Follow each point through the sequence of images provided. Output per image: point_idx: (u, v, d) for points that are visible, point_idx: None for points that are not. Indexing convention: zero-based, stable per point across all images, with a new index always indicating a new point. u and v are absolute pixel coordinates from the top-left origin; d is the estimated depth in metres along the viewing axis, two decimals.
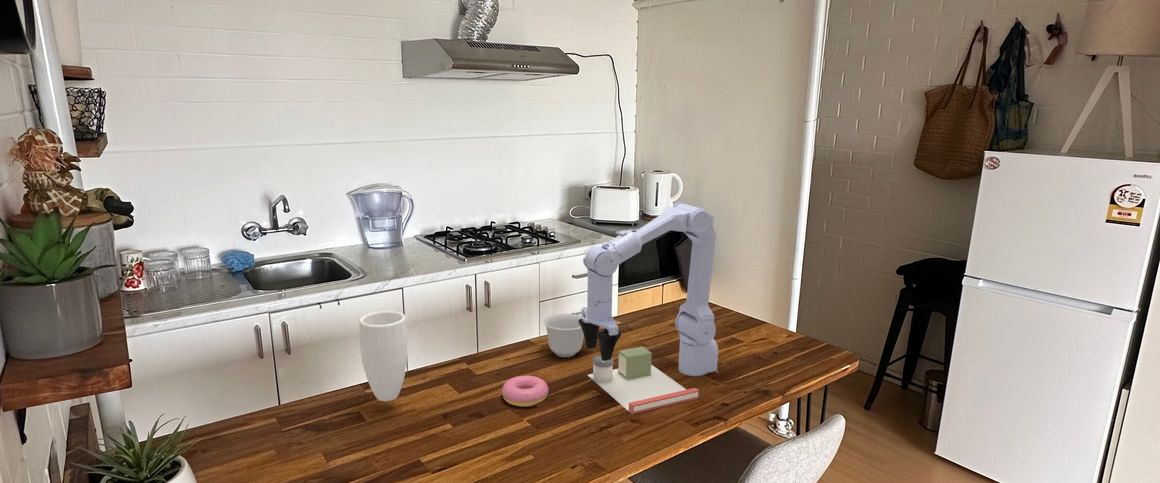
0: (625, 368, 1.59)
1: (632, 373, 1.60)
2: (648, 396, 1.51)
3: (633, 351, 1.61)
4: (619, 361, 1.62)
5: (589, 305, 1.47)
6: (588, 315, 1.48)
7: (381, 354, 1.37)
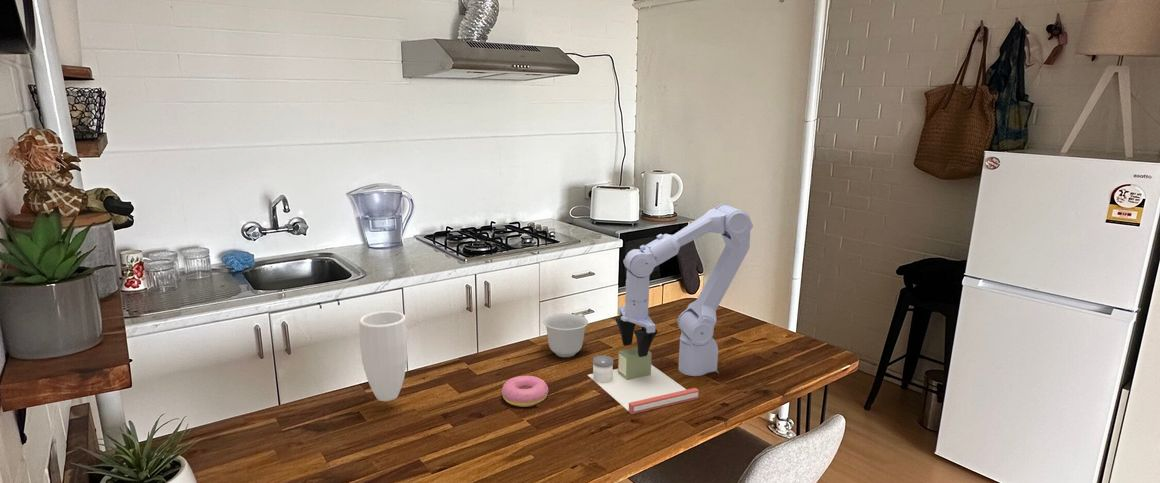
0: (625, 368, 1.59)
1: (632, 373, 1.60)
2: (648, 396, 1.51)
3: (633, 351, 1.61)
4: (619, 361, 1.62)
5: (627, 304, 1.57)
6: (626, 314, 1.58)
7: (381, 354, 1.37)
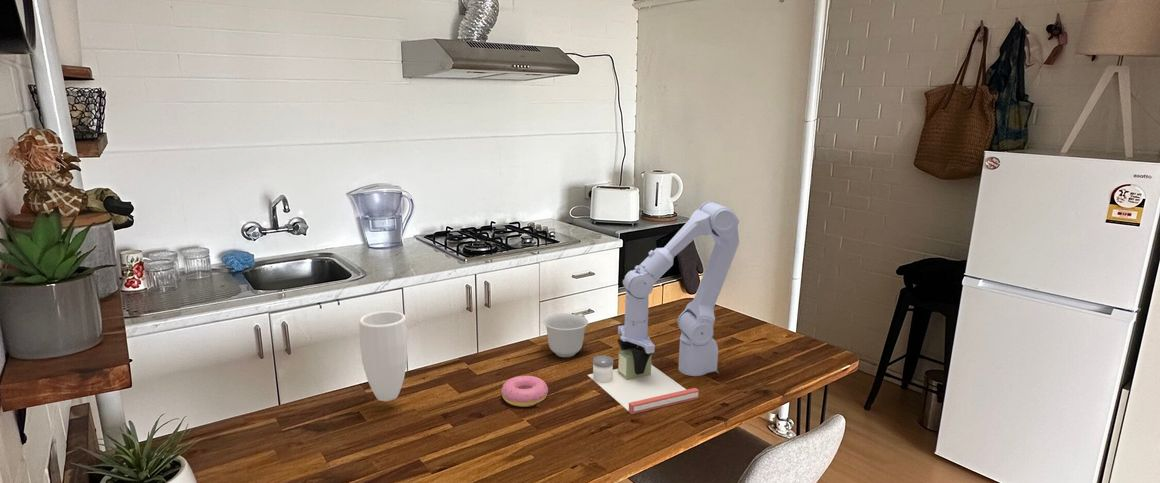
0: (625, 368, 1.59)
1: (632, 373, 1.60)
2: (648, 396, 1.51)
3: None
4: (619, 361, 1.62)
5: (627, 325, 1.58)
6: (625, 334, 1.59)
7: (381, 354, 1.37)
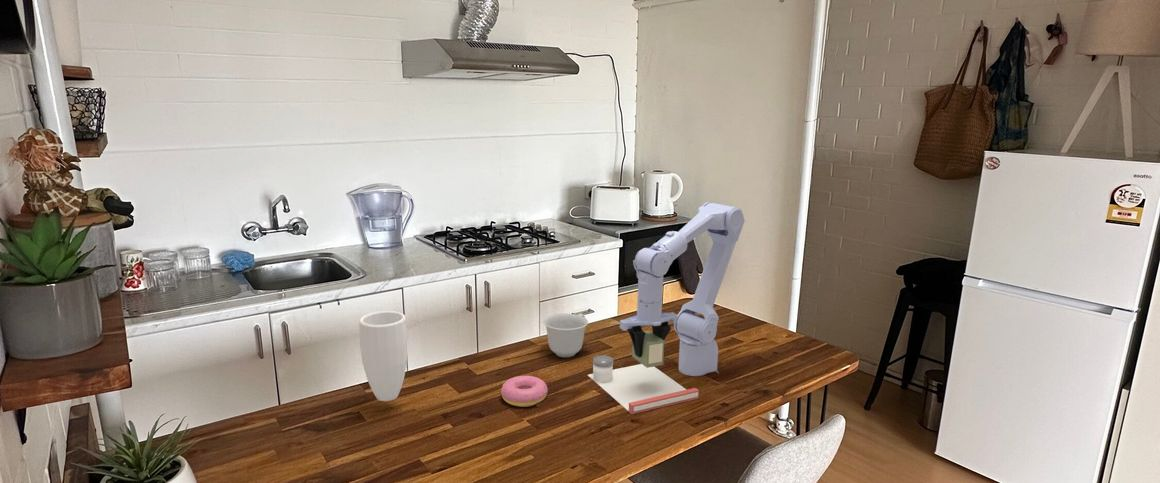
0: (660, 354, 1.51)
1: None
2: (648, 396, 1.51)
3: (648, 337, 1.52)
4: (648, 354, 1.49)
5: (657, 307, 1.48)
6: (655, 318, 1.49)
7: (381, 354, 1.37)
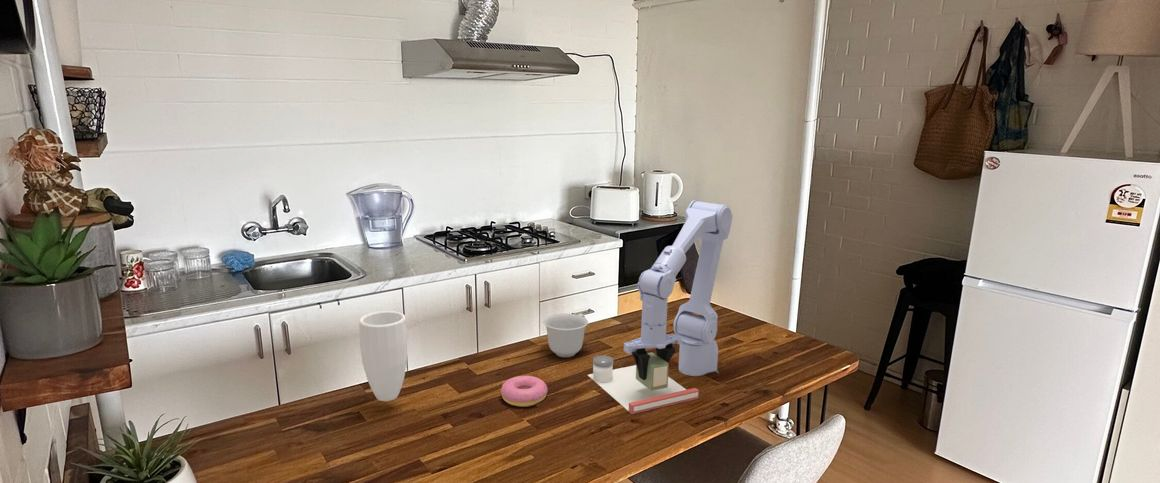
0: (665, 377, 1.48)
1: None
2: (648, 396, 1.51)
3: (652, 360, 1.50)
4: (653, 377, 1.47)
5: (661, 330, 1.46)
6: (659, 341, 1.46)
7: (381, 354, 1.37)
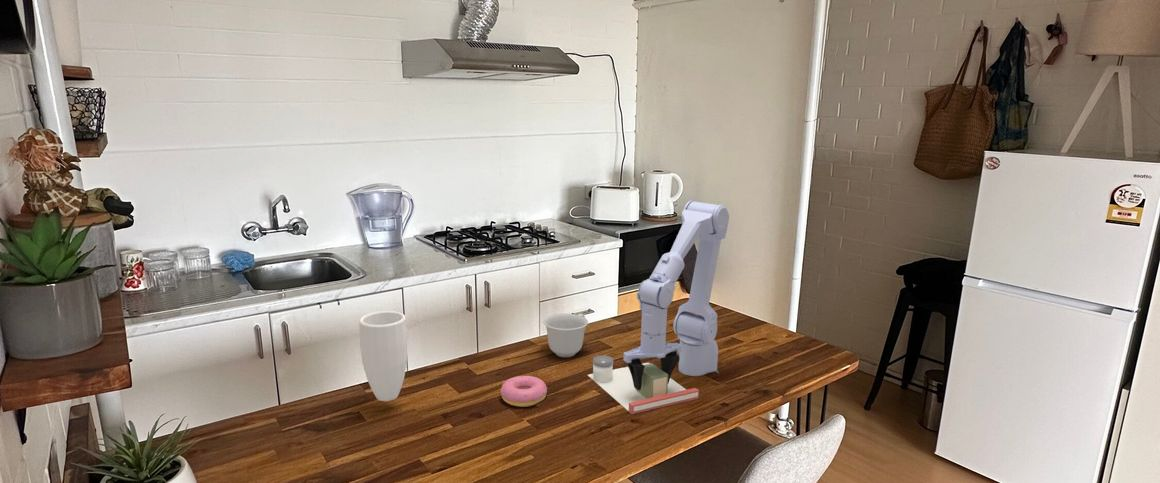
0: (665, 388, 1.49)
1: None
2: None
3: (651, 371, 1.50)
4: (653, 388, 1.48)
5: (661, 339, 1.46)
6: (659, 350, 1.47)
7: (381, 354, 1.37)
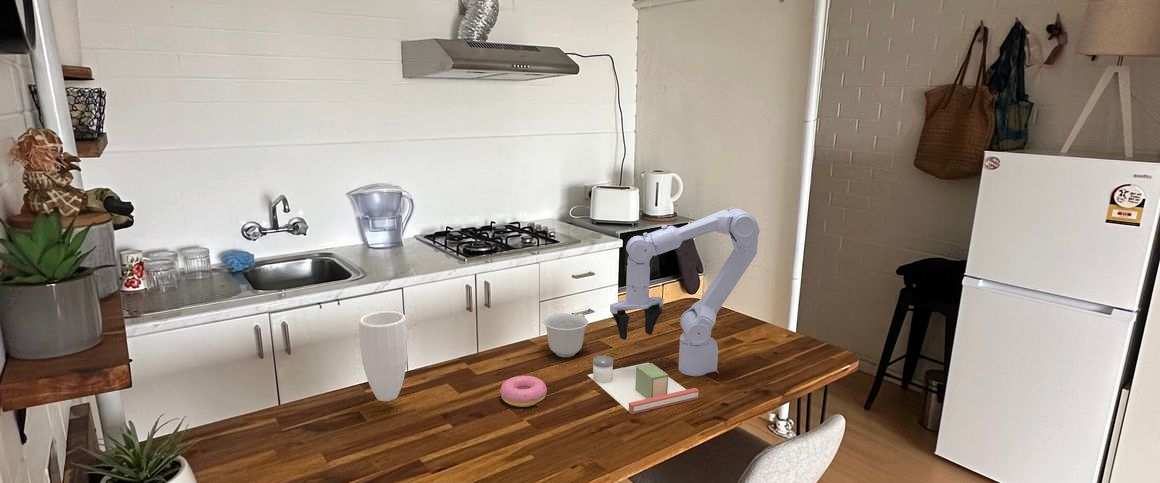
0: (665, 388, 1.49)
1: None
2: None
3: (651, 371, 1.50)
4: (653, 388, 1.48)
5: (644, 292, 1.58)
6: (643, 302, 1.58)
7: (381, 354, 1.37)
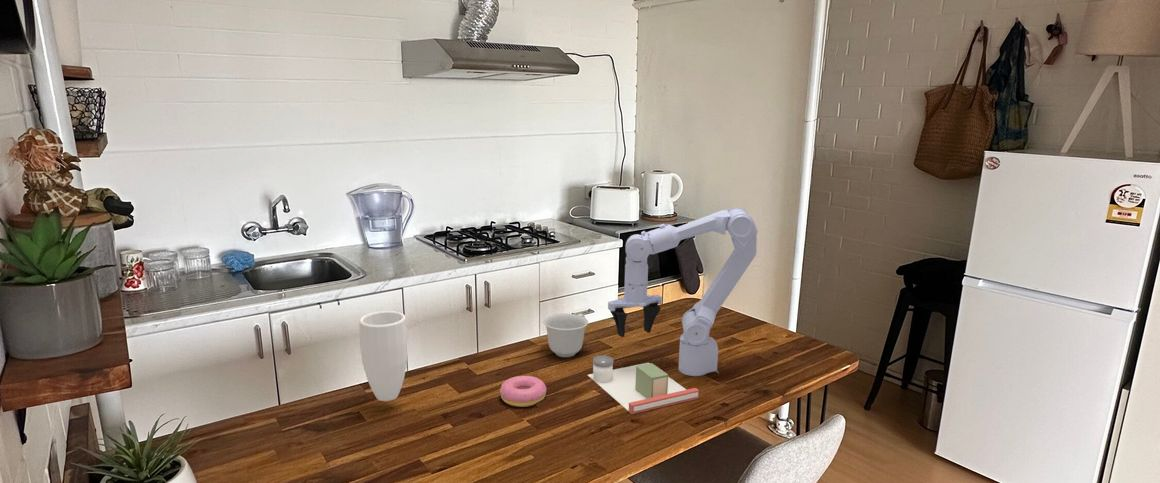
0: (665, 388, 1.49)
1: None
2: None
3: (651, 371, 1.50)
4: (653, 388, 1.48)
5: (642, 290, 1.60)
6: (640, 300, 1.60)
7: (381, 354, 1.37)
